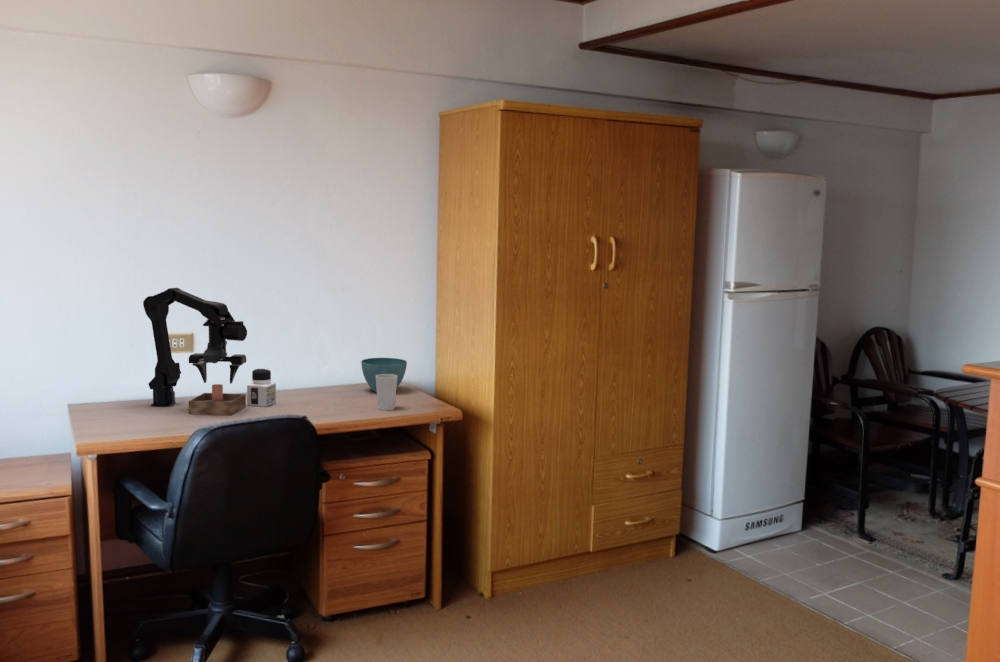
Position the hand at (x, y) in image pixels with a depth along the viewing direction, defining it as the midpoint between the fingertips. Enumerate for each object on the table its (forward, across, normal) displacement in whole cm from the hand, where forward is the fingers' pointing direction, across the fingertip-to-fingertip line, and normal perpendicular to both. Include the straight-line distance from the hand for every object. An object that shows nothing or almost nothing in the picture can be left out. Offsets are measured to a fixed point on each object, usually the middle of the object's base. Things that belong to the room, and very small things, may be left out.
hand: (218, 383), depth 303 cm
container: (+10, +12, +12) cm, 20 cm away
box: (+10, 0, 0) cm, 10 cm away
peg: (+10, 0, 0) cm, 10 cm away
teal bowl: (+10, +52, +44) cm, 69 cm away
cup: (+10, +58, +12) cm, 60 cm away
